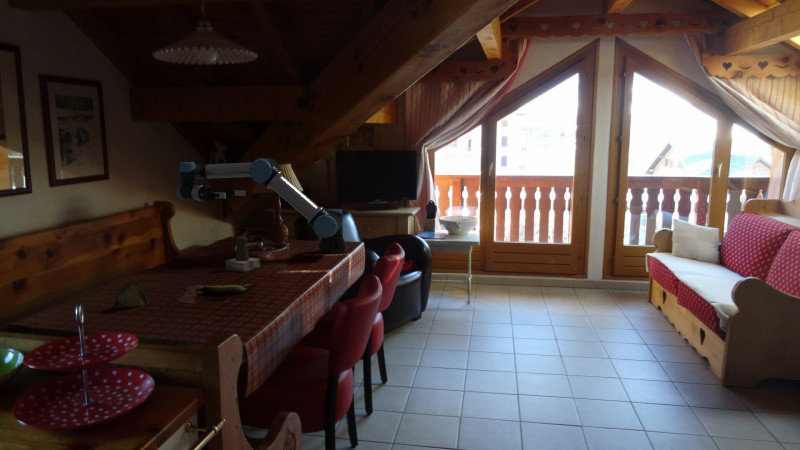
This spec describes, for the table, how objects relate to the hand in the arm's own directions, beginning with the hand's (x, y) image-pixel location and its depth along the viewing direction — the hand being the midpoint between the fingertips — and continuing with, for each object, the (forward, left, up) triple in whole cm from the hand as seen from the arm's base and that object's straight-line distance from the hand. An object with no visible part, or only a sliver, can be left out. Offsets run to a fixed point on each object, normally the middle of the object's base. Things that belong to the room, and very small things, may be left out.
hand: (235, 194), depth 265 cm
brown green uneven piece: (+46, +37, -34) cm, 68 cm away
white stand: (+11, +13, -33) cm, 37 cm away
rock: (+74, +18, -34) cm, 84 cm away
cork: (+11, +13, -30) cm, 34 cm away
